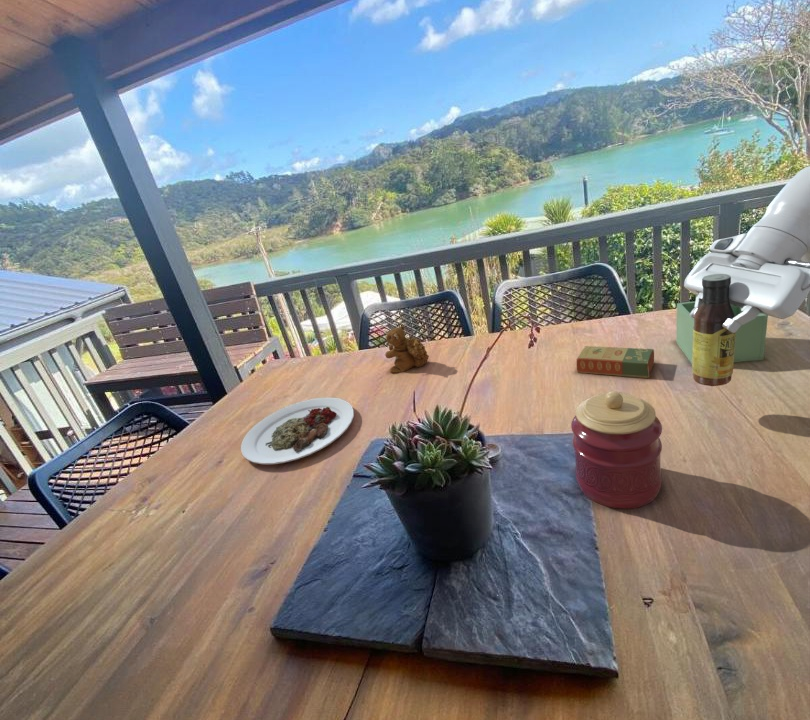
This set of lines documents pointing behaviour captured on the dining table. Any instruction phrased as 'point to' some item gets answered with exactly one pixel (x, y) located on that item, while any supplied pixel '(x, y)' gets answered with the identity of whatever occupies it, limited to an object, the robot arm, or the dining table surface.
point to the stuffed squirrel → (405, 351)
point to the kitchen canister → (617, 450)
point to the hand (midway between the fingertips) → (710, 324)
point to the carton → (616, 361)
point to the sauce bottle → (713, 333)
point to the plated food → (297, 430)
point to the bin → (746, 336)
